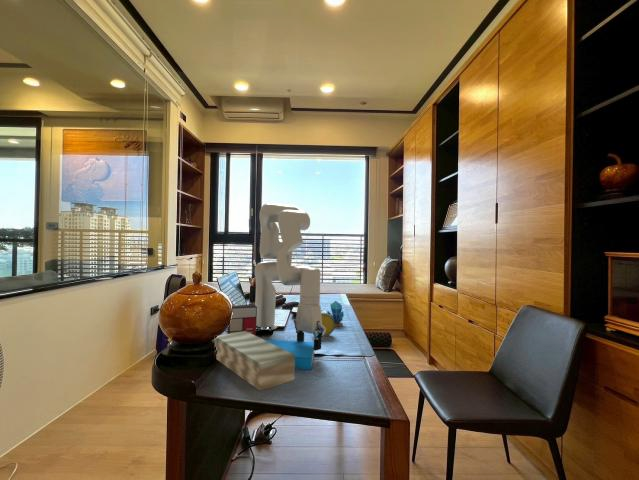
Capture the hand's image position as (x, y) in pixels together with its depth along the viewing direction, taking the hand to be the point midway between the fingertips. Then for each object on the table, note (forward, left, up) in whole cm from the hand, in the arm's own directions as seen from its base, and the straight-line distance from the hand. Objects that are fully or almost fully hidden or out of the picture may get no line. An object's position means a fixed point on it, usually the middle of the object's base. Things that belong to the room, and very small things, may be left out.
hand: (308, 346), depth 119 cm
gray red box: (-25, -14, -3) cm, 29 cm away
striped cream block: (-1, -23, -3) cm, 24 cm away
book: (-3, -12, -3) cm, 12 cm away
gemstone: (-24, +38, -3) cm, 45 cm away
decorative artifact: (-16, +22, -3) cm, 27 cm away
